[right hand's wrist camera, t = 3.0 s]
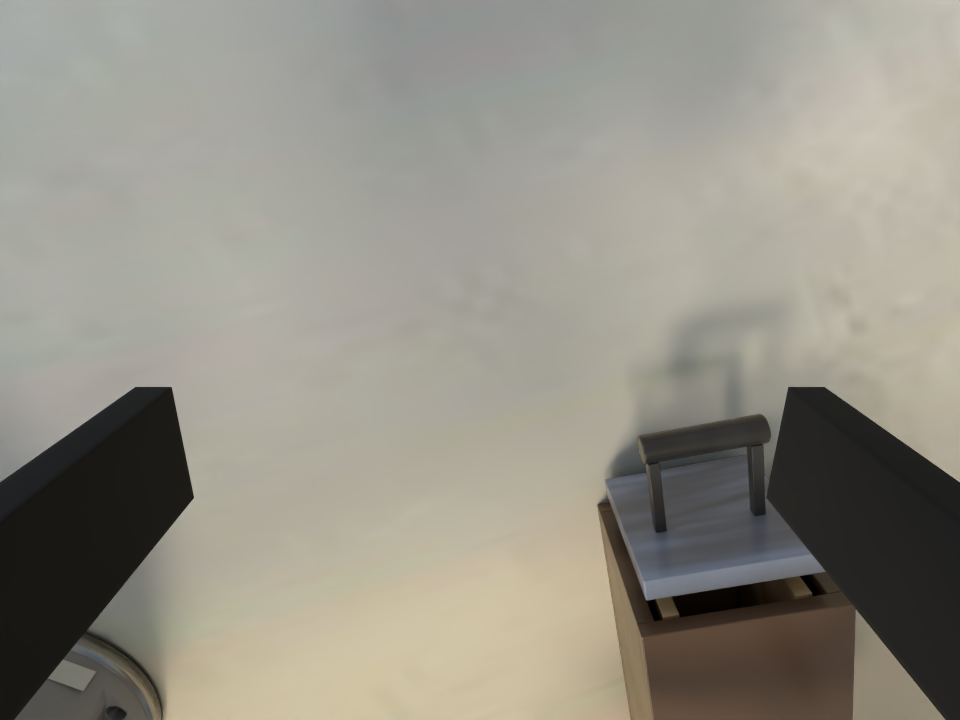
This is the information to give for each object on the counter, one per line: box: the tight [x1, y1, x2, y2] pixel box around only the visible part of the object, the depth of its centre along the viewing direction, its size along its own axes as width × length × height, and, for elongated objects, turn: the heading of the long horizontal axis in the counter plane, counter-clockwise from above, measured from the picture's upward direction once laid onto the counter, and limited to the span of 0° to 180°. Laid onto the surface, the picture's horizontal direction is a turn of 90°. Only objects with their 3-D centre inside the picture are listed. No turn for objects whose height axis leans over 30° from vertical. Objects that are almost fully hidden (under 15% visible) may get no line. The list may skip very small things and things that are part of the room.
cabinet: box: [598, 503, 856, 720], centre depth 35 cm, size 20×10×11 cm, turn 12°
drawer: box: [605, 414, 826, 621], centre depth 33 cm, size 24×9×9 cm, turn 12°
